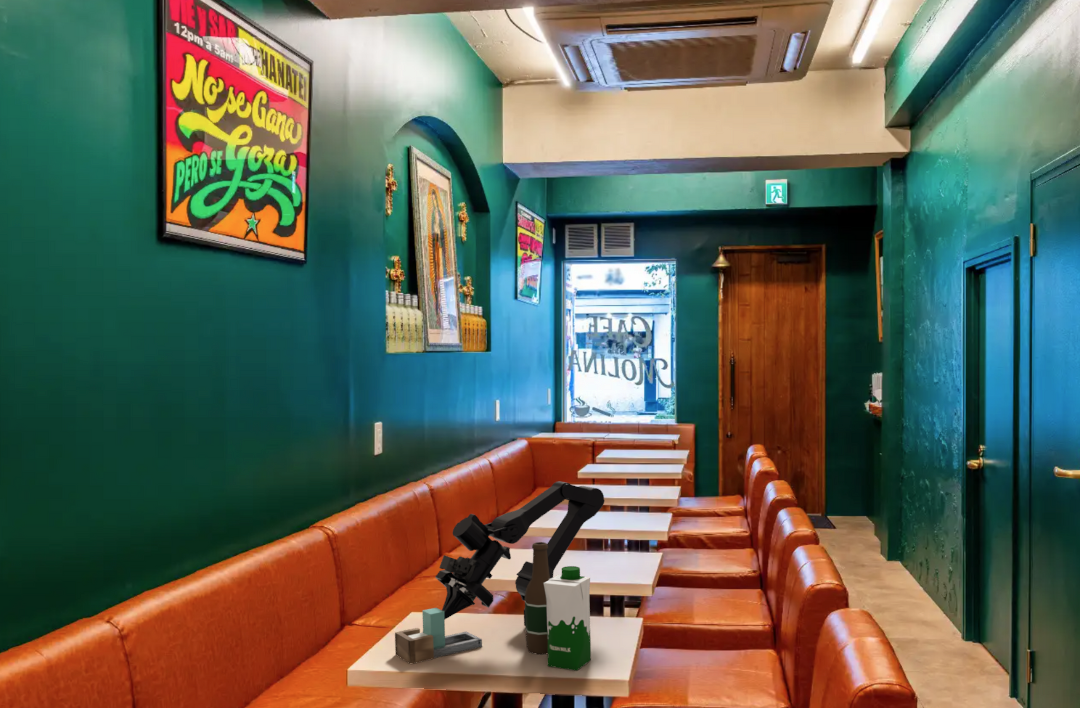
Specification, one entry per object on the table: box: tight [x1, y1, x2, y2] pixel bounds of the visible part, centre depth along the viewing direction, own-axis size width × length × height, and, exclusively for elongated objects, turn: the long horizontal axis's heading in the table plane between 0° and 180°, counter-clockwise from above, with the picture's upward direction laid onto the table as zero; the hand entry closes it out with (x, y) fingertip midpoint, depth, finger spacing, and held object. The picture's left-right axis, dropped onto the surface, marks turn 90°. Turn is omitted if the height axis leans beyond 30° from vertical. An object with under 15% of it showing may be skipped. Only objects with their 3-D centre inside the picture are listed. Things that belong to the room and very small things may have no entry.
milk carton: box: [544, 565, 592, 671], centre depth 189 cm, size 9×9×20 cm
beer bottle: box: [524, 541, 550, 655], centre depth 199 cm, size 8×8×24 cm
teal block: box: [409, 607, 446, 648], centre depth 198 cm, size 8×4×9 cm, turn 124°
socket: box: [394, 627, 435, 664], centre depth 196 cm, size 6×8×5 cm
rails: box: [433, 631, 483, 659], centre depth 201 cm, size 12×7×2 cm, turn 124°
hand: (441, 618), depth 200 cm, fingers closed
